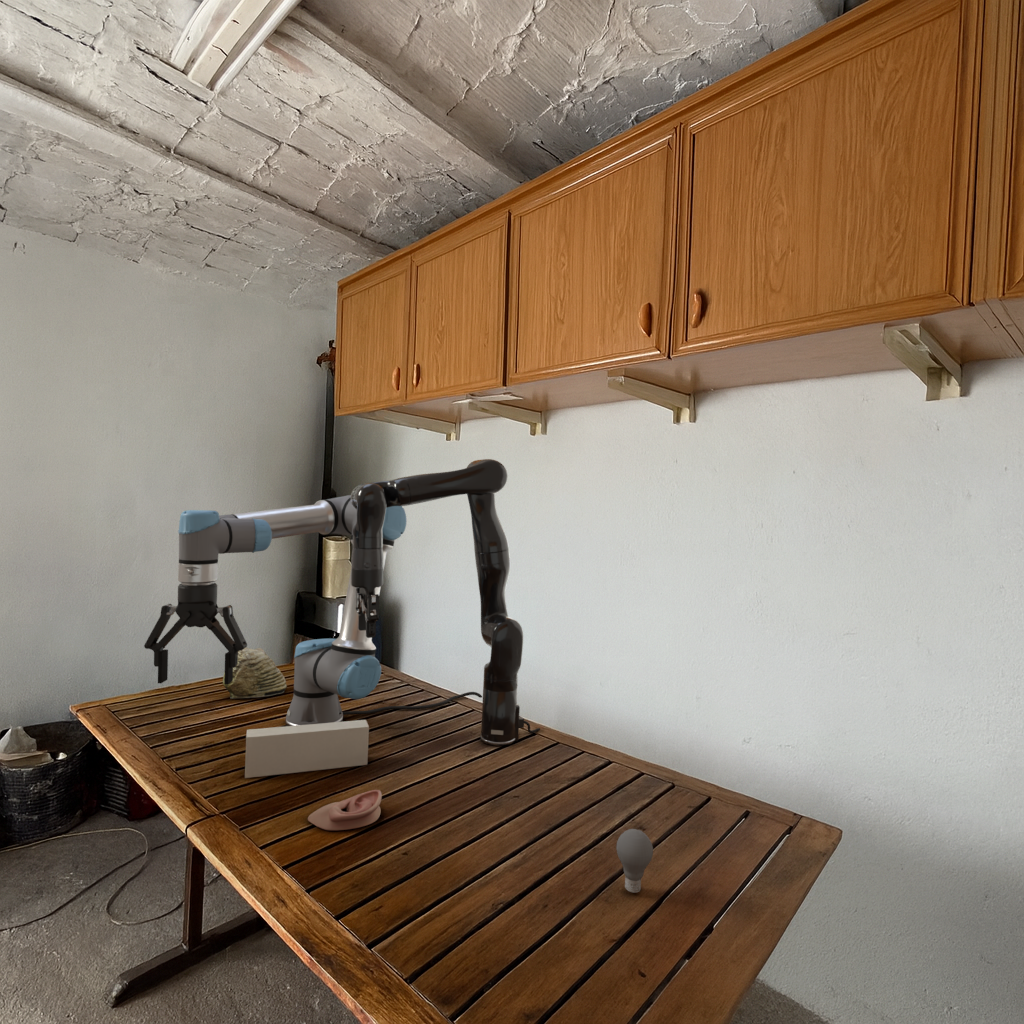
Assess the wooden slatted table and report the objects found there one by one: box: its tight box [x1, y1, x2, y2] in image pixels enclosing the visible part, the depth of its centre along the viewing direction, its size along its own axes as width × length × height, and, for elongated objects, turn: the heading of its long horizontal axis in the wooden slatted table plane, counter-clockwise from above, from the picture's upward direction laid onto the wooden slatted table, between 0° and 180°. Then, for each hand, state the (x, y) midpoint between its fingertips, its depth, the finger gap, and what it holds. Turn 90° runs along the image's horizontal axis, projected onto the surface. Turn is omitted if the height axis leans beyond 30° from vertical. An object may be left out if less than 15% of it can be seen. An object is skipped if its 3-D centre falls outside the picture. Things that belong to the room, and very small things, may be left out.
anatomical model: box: [307, 789, 383, 831], centre depth 126 cm, size 13×4×12 cm
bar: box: [244, 719, 370, 779], centre depth 148 cm, size 27×5×9 cm, turn 111°
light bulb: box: [615, 828, 654, 894], centre depth 106 cm, size 6×6×10 cm
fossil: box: [222, 646, 288, 699], centre depth 198 cm, size 9×18×15 cm, turn 132°
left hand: (195, 682), depth 135 cm, fingers open, 13 cm apart
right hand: (366, 633), depth 152 cm, fingers open, 8 cm apart
